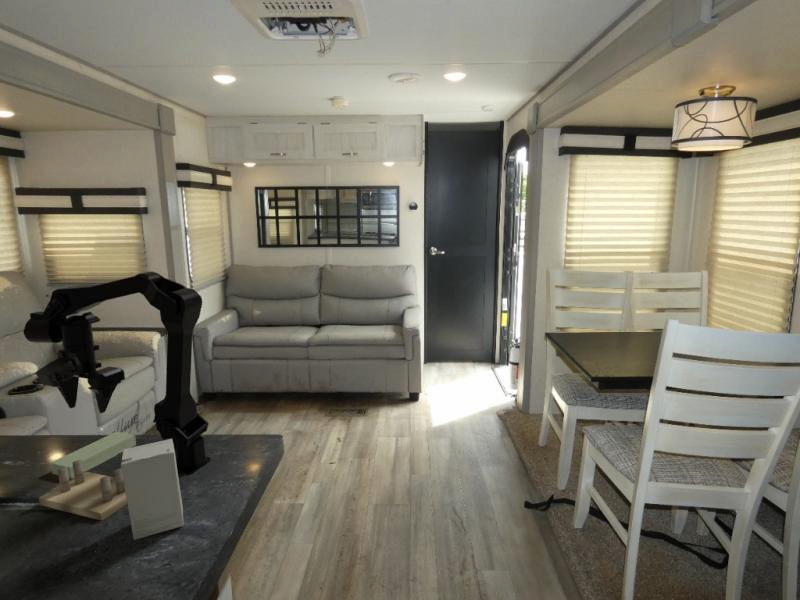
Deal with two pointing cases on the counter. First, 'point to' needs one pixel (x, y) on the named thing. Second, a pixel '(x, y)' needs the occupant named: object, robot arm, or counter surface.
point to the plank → (95, 452)
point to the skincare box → (152, 488)
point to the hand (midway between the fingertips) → (87, 410)
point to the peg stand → (87, 493)
